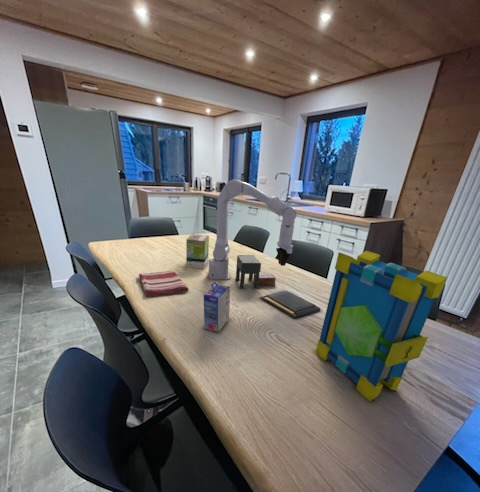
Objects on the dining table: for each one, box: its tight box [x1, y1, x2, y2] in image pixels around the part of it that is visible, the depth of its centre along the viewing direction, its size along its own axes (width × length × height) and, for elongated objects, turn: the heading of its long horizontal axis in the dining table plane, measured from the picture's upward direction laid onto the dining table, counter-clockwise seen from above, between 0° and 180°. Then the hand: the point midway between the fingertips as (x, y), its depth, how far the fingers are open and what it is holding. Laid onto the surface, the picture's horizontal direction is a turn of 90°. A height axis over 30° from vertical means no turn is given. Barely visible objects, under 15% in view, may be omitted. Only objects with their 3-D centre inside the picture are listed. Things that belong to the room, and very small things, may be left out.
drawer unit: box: [235, 254, 262, 290], centre depth 121 cm, size 10×12×12 cm
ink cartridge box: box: [203, 280, 231, 333], centre depth 86 cm, size 10×6×14 cm, turn 161°
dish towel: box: [138, 270, 189, 298], centre depth 115 cm, size 17×23×3 cm
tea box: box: [185, 233, 210, 269], centre depth 142 cm, size 15×10×15 cm, turn 179°
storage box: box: [252, 272, 277, 287], centre depth 124 cm, size 9×6×4 cm, turn 101°
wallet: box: [259, 290, 321, 319], centre depth 106 cm, size 20×2×15 cm
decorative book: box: [315, 250, 448, 402], centre depth 65 cm, size 14×23×30 cm, turn 24°
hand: (281, 264), depth 123 cm, fingers closed
